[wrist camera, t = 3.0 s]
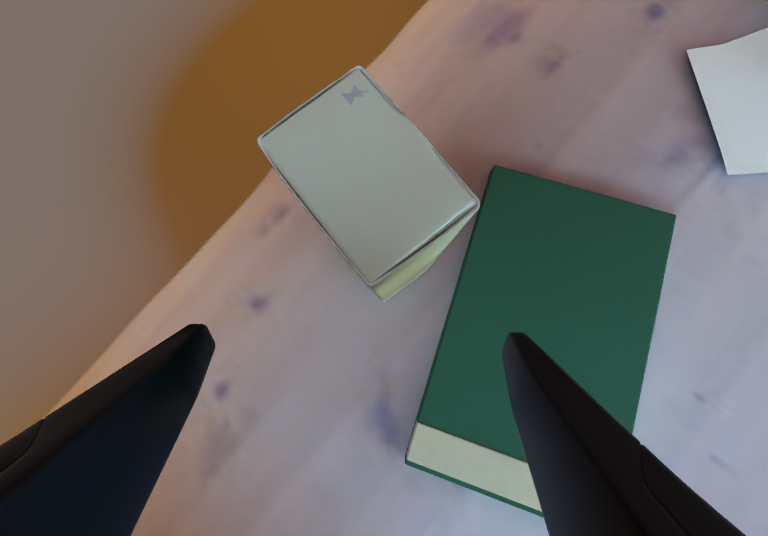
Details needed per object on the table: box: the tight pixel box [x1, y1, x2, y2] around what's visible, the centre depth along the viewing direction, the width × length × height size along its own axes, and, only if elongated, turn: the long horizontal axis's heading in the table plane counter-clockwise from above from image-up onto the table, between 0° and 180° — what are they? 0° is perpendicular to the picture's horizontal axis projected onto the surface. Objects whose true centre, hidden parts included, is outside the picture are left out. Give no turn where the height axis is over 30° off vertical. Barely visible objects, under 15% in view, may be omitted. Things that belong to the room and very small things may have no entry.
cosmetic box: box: [257, 66, 480, 302], centre depth 15 cm, size 6×4×12 cm
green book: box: [405, 165, 676, 517], centre depth 19 cm, size 20×12×1 cm, turn 161°
